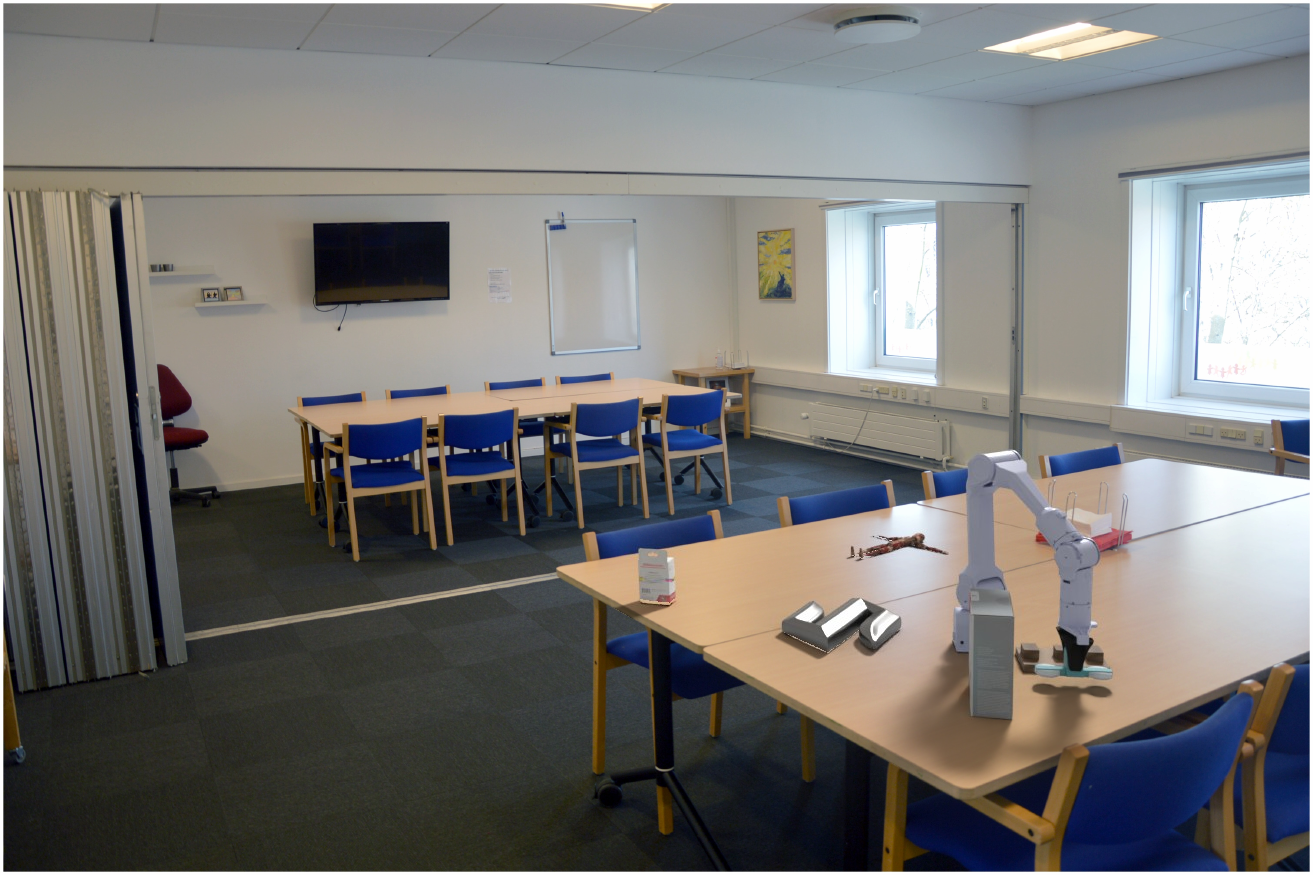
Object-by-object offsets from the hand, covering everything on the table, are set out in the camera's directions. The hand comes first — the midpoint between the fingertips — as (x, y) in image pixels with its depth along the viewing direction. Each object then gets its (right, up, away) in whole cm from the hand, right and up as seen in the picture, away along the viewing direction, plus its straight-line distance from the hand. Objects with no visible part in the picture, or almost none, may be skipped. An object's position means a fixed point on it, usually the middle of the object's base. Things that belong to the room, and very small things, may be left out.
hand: (1073, 667), depth 188 cm
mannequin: (-10, +10, +105) cm, 106 cm away
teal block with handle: (0, -1, 0) cm, 2 cm away
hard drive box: (-18, -5, -6) cm, 20 cm away
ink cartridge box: (-82, +2, +60) cm, 102 cm away
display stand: (+2, -2, +11) cm, 12 cm away
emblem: (-39, -1, +35) cm, 52 cm away
